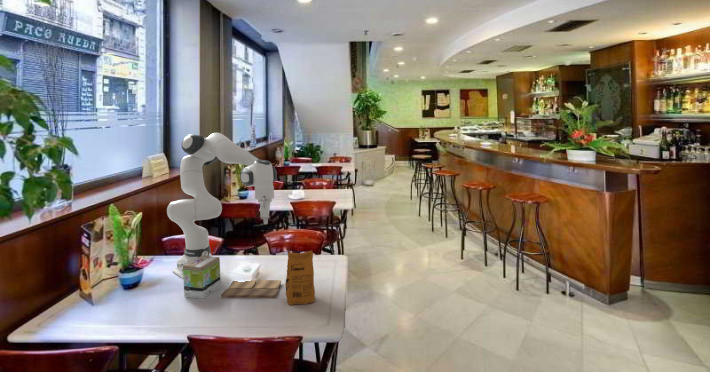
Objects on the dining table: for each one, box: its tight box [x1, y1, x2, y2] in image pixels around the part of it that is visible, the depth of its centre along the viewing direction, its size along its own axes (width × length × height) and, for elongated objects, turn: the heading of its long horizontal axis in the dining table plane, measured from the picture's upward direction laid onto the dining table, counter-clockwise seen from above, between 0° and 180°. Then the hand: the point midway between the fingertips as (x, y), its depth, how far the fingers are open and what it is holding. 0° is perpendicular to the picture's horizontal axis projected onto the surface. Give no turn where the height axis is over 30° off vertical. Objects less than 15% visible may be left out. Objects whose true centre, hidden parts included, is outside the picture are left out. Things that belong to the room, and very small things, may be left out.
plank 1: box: [227, 279, 257, 289], centre depth 198 cm, size 11×8×1 cm
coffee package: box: [285, 250, 316, 306], centre depth 181 cm, size 10×12×22 cm
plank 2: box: [253, 279, 282, 290], centre depth 197 cm, size 11×8×1 cm
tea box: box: [182, 256, 222, 299], centre depth 192 cm, size 15×10×15 cm, turn 168°
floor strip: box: [220, 288, 279, 299], centre depth 189 cm, size 24×7×1 cm, turn 88°
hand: (265, 223), depth 200 cm, fingers closed
